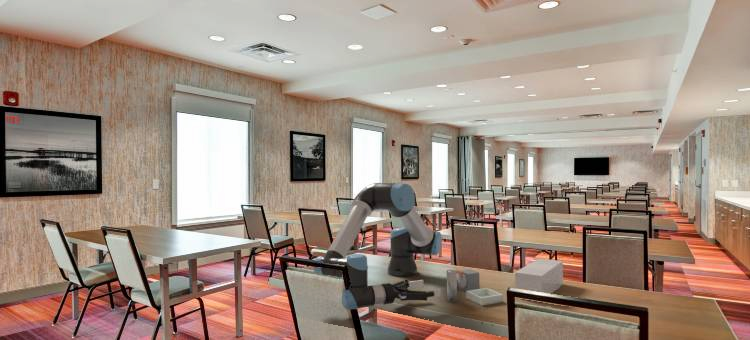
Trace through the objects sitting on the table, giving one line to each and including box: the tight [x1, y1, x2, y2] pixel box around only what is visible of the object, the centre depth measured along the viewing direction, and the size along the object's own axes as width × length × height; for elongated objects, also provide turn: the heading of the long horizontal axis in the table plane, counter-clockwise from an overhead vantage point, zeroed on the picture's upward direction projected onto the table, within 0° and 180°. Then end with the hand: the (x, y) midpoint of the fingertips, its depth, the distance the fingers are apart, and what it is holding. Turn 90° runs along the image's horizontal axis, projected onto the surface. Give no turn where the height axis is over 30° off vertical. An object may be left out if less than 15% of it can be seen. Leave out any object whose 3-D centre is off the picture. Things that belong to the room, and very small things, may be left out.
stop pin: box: [446, 269, 458, 303], centre depth 175 cm, size 4×4×12 cm
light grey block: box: [514, 258, 564, 294], centre depth 187 cm, size 32×11×11 cm, turn 143°
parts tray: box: [465, 287, 504, 307], centre depth 175 cm, size 10×10×3 cm
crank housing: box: [456, 268, 481, 293], centre depth 190 cm, size 7×8×9 cm
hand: (431, 287), depth 172 cm, fingers open, 13 cm apart
